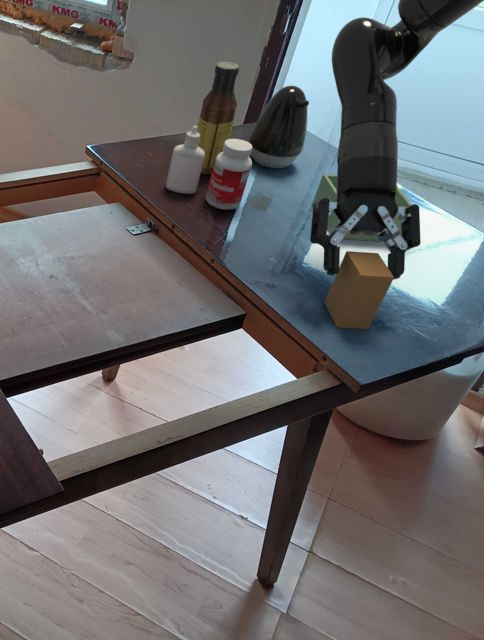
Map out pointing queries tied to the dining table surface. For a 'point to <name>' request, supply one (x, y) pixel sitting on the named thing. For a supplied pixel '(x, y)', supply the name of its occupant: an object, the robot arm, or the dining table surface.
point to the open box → (330, 191)
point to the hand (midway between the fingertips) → (363, 276)
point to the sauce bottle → (217, 114)
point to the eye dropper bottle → (186, 165)
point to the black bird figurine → (280, 129)
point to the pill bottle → (230, 175)
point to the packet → (358, 290)
